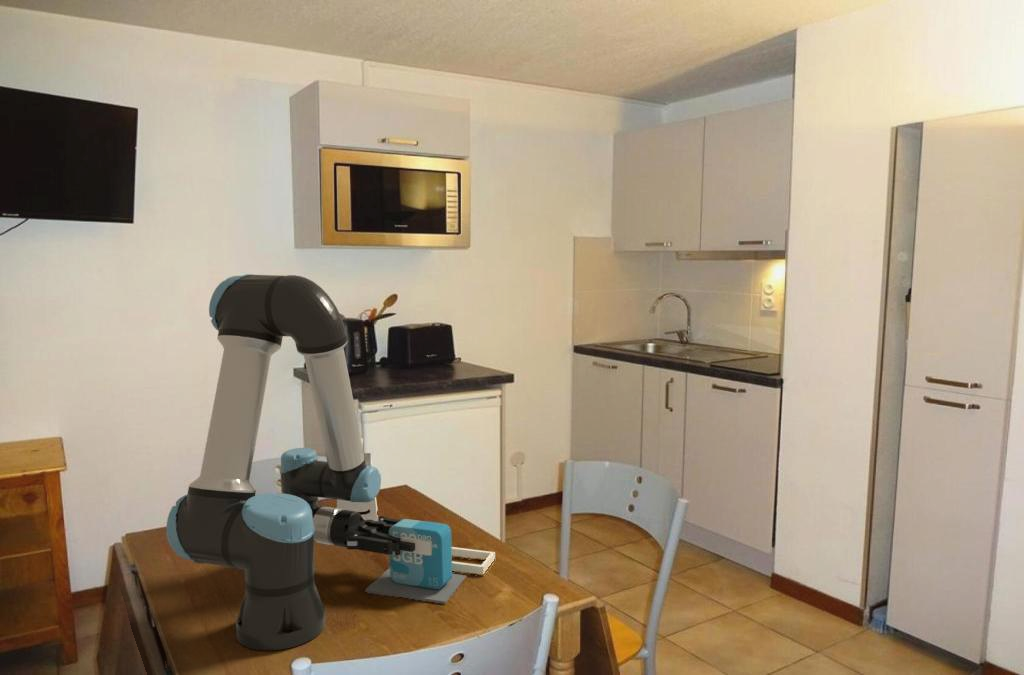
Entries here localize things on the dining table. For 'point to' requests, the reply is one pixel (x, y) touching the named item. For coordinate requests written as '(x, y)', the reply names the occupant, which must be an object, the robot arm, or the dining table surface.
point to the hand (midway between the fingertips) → (437, 543)
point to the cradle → (472, 554)
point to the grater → (361, 505)
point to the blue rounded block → (419, 566)
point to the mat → (415, 589)
